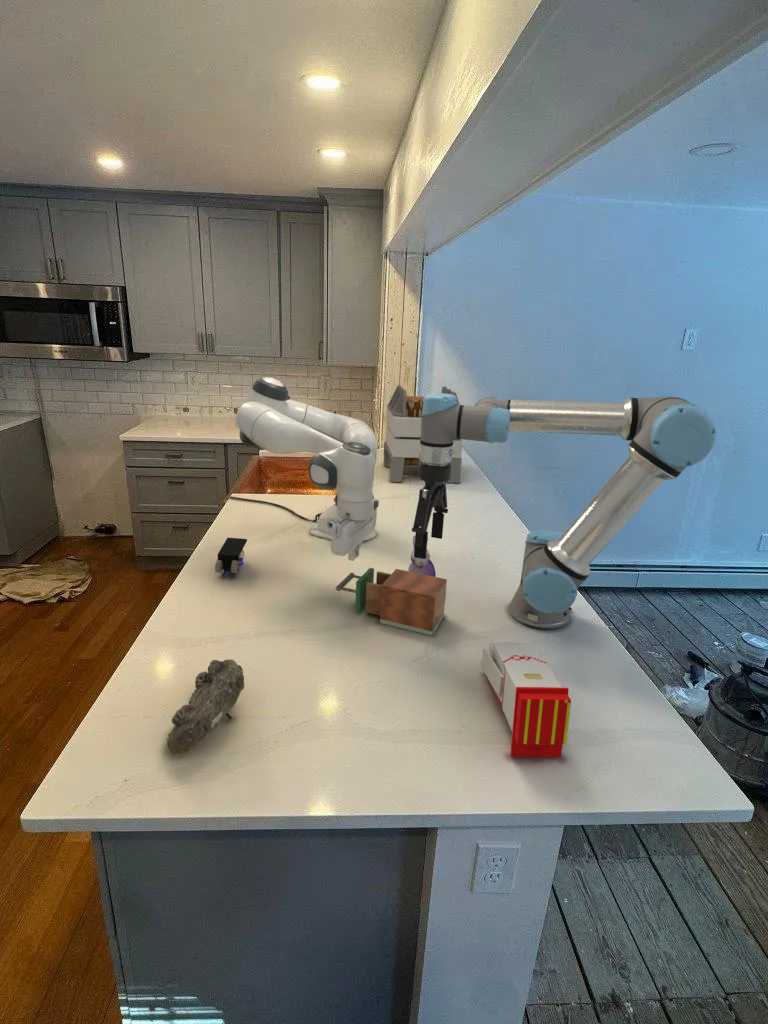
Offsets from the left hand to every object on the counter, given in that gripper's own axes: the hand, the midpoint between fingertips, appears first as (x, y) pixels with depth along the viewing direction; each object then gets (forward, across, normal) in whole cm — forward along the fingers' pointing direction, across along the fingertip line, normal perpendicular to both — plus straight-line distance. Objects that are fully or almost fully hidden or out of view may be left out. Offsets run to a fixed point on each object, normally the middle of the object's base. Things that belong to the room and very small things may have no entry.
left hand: (353, 558), depth 146 cm
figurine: (+14, +19, -13) cm, 27 cm away
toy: (+14, -24, -47) cm, 55 cm away
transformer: (+13, +132, +24) cm, 135 cm away
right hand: (-7, 0, -20) cm, 21 cm away
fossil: (+14, -51, +6) cm, 53 cm away
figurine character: (+14, +4, +41) cm, 43 cm away
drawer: (+13, 0, -6) cm, 14 cm away
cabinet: (+14, 0, -17) cm, 22 cm away
